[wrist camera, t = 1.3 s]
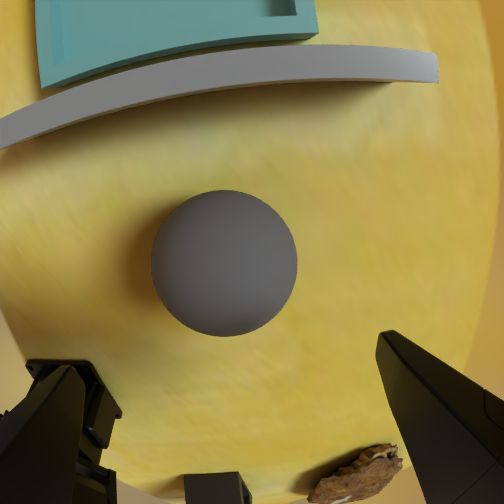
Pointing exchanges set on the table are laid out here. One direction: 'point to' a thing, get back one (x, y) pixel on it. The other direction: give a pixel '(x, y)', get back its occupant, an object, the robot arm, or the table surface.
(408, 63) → the low wall
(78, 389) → the robot arm
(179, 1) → the dish
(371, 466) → the decorative rock
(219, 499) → the phone stand
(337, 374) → the table surface
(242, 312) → the ball
